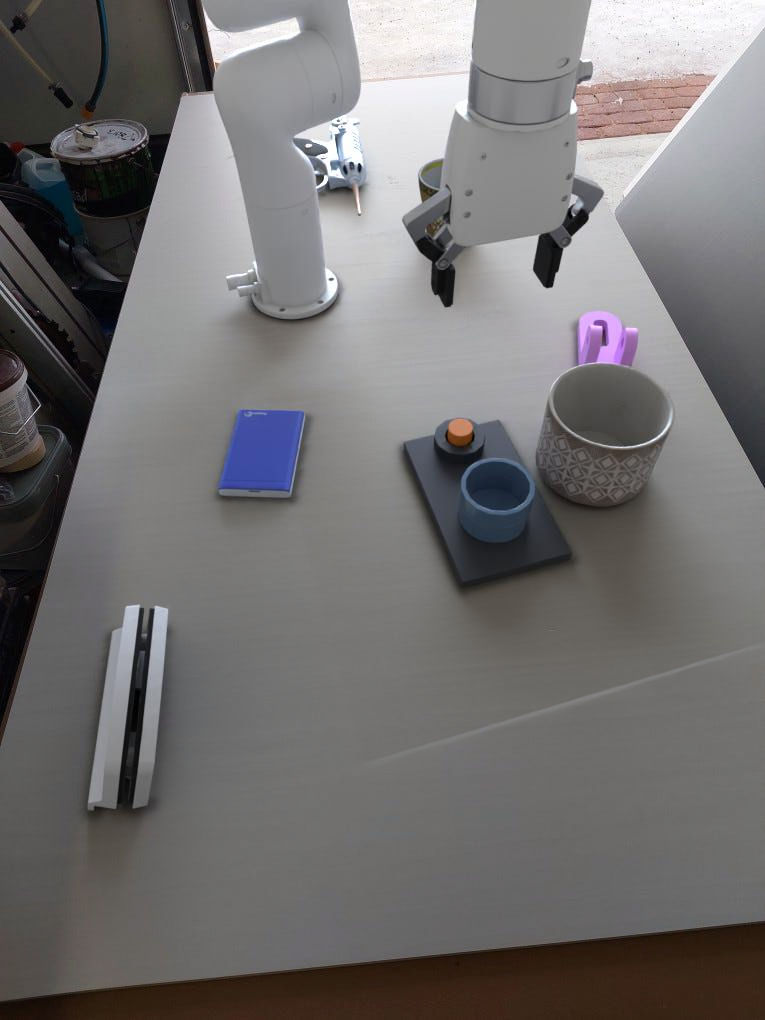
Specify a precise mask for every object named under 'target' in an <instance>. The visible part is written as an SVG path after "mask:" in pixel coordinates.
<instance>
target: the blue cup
mask: <svg viewBox="0 0 765 1020" xmlns="http://www.w3.org/2000/svg"><path fill="white" fill-rule="evenodd" d="M526 469H527V468H526ZM526 469H524V468H523V467H522V466H521V465H519V464H518V463H515V462H513V461H510V460H507V459H501V458H489V459H485V460H480V461H477V462H476V463H474V464H473V465H471V466H470V467H468V468H467V470H466V472H465V473H464V475H463V476H462V479H461V489H460V499H459V511H458V514H459V520H460V523H461V525H462V526H463V528H464V529H465V530H466V531H467V532H468V533H469V534H470V535H471V536H473V537H474V538H476V539H478V540H481V541H484V542H489V543H503V542H507V541H510V540H512V539H514V538H516V537H518V536H519V535H520V534H521V533H522V532H523V531H524V529H525V527H526V525H527V522H528V520H529V516H530V512H531V508H532V504H533V499H534V495H535V486H536V483H535V480H534V479H533V477H532V475H531V473H530V472H529V471H528V470H526Z"/></svg>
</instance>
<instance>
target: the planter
mask: <svg viewBox="0 0 765 1020" xmlns="http://www.w3.org/2000/svg"><path fill="white" fill-rule="evenodd" d="M675 417H676V409H675V404H674V402H673V399H672V397H671V395H670V394H669V393H668V391H667V390H666V388H665V387H664V386H663V385H662V384H661V383H660V382H659V381H657V380H656V379H655V378H653V377H652V376H650V375H649V374H647V373H646V372H643V371H641V370H639V369H637V368H634V367H632V366H631V367H628V366H624V365H620V364H614V363H589V364H584V365H580V366H579V365H577V366H575V367H574V366H573V367H572V368H569V369H568V370H566V371H564V372H563V373H561V374H560V375H559V376H558V377H557V378H556V379H555V380H554V381H553V383H552V385H551V387H550V389H549V393H548V396H547V402H546V406H545V411H544V415H543V419H542V424H541V428H540V433H539V437H538V441H537V446H536V451H535V464H536V467H537V471H538V472H539V475H540V476H541V479H543V481H544V482H545V483H546V484H547V486H548V487H549V488H550V489H552V490H553V491H554V492H555V493H556V494H558V495H560V496H561V497H562V498H565V499H566V500H567V499H568V500H569V501H571V502H573V503H577V504H581V505H585V506H590V507H612V506H617V505H621V504H623V503H626V502H628V501H630V500H632V499H633V498H635V497H636V496H638V495H639V494H640V493H641V492H642V491H643V489H644V488H645V487H646V485H647V483H648V482H649V479H650V477H651V475H652V473H653V470H654V468H655V466H656V464H657V461H658V459H659V457H660V454H661V452H662V450H663V448H664V446H665V443H666V441H667V439H668V436H669V434H670V432H671V430H672V427H673V425H674V422H675Z"/></svg>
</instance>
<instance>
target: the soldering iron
mask: <svg viewBox="0 0 765 1020" xmlns="http://www.w3.org/2000/svg"><path fill="white" fill-rule="evenodd" d="M330 122H331V124H330V126H329V137H330V141H329V142H326V141H320V140H315V139H309V138H302V137H294V138H293V143H294V144H295V146H296V147H297V148H299V149H300V150H301V151H302V152H303V153H304V154H305V155H306V156H307V157H308V159H309V160H310V162H311V164H312V166H313V168H314V172H315V177H317V176H321V177H323V181H322V182H321V183H320V184H319V185H316V186H317V193H320V192H322V191H324V190H325V189H326V188H327V187H329V190H334V189H337V188H342V187H343V188H344V187H346V188H349V189H350V190H352V194H353V199H354V204H355V209H356V213H357V216H358V217H361V216H362V210H361V200H360V191H359V189H360V188H361V186H362V185H363V184H364V183H365V181H366V178H367V168H366V167H367V166H366V164H365V158H364V153H363V148H362V142H361V136H360V132H359V129H358V128H356V126H357V125H360V124H361V121H360V119H358V118H355V117H353V118H348V121H347V118H346V115H344V116H342V117H339V118H337V119H334V120H332V121H330Z"/></svg>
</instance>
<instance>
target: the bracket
mask: <svg viewBox="0 0 765 1020" xmlns="http://www.w3.org/2000/svg"><path fill="white" fill-rule="evenodd" d="M603 331H604V334H605V345H604V346H603V345H602V342H603ZM576 333H577V353H578V354H577V356H578V357H577V358H578V366H580V365H584V364H589V363H614V364H620V365H624V366H628V367H631V368H632V364H633V360H634V359H635V355H636V354H637V353H636V352H637V349H638V344H639V343H638V342H639V329H638V327H623V324H622V321H621V320H620V318H618V317H617V316H616V315H615V314H614V313H611V312H608V311H602V310H592V311H589V312H588V311H587V312H586V313H584V314H583V315H581V316H580V318H579V321H578V326H577V330H576Z"/></svg>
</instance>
